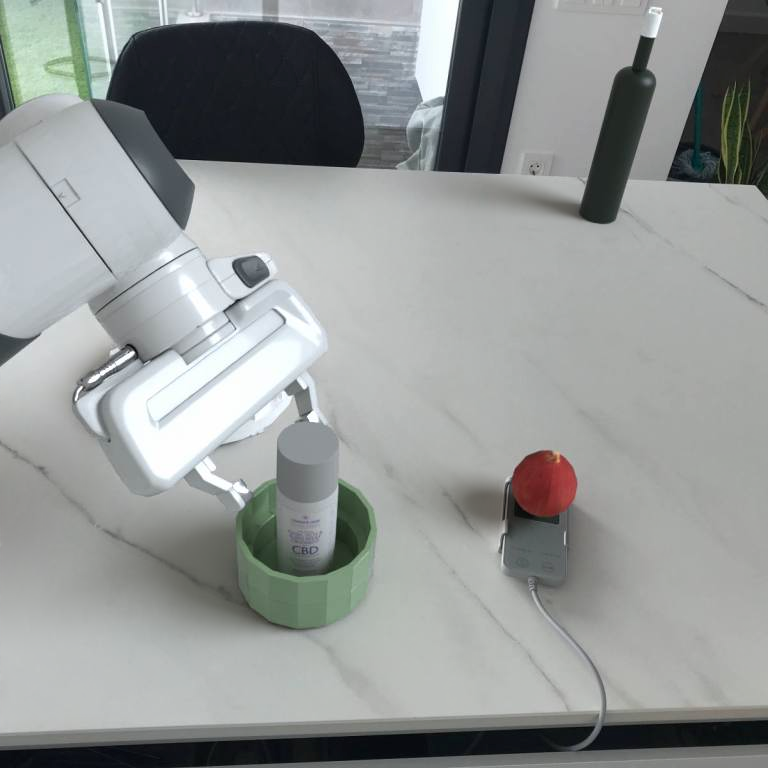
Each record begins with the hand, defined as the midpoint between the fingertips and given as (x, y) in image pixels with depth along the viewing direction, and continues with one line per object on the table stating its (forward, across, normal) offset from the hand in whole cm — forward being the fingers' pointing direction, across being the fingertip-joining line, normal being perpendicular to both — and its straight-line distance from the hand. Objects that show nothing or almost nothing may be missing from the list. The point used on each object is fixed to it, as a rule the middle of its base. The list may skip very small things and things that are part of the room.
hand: (282, 467), depth 59 cm
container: (+10, 0, +6) cm, 11 cm away
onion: (+20, +18, -3) cm, 27 cm away
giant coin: (-6, +13, +23) cm, 27 cm away
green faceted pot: (+10, 0, +6) cm, 12 cm away
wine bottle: (+9, +80, +8) cm, 81 cm away
